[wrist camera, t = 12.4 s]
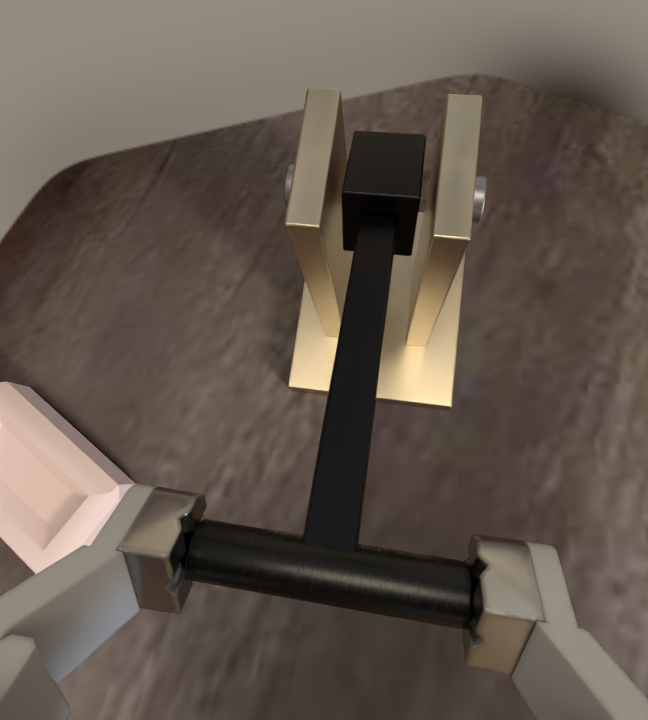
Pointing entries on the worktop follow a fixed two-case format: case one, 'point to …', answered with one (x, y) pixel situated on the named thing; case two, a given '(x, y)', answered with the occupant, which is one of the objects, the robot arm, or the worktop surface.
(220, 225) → the worktop surface
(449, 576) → the lever
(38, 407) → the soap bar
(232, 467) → the worktop surface
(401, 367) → the cream lever mount
